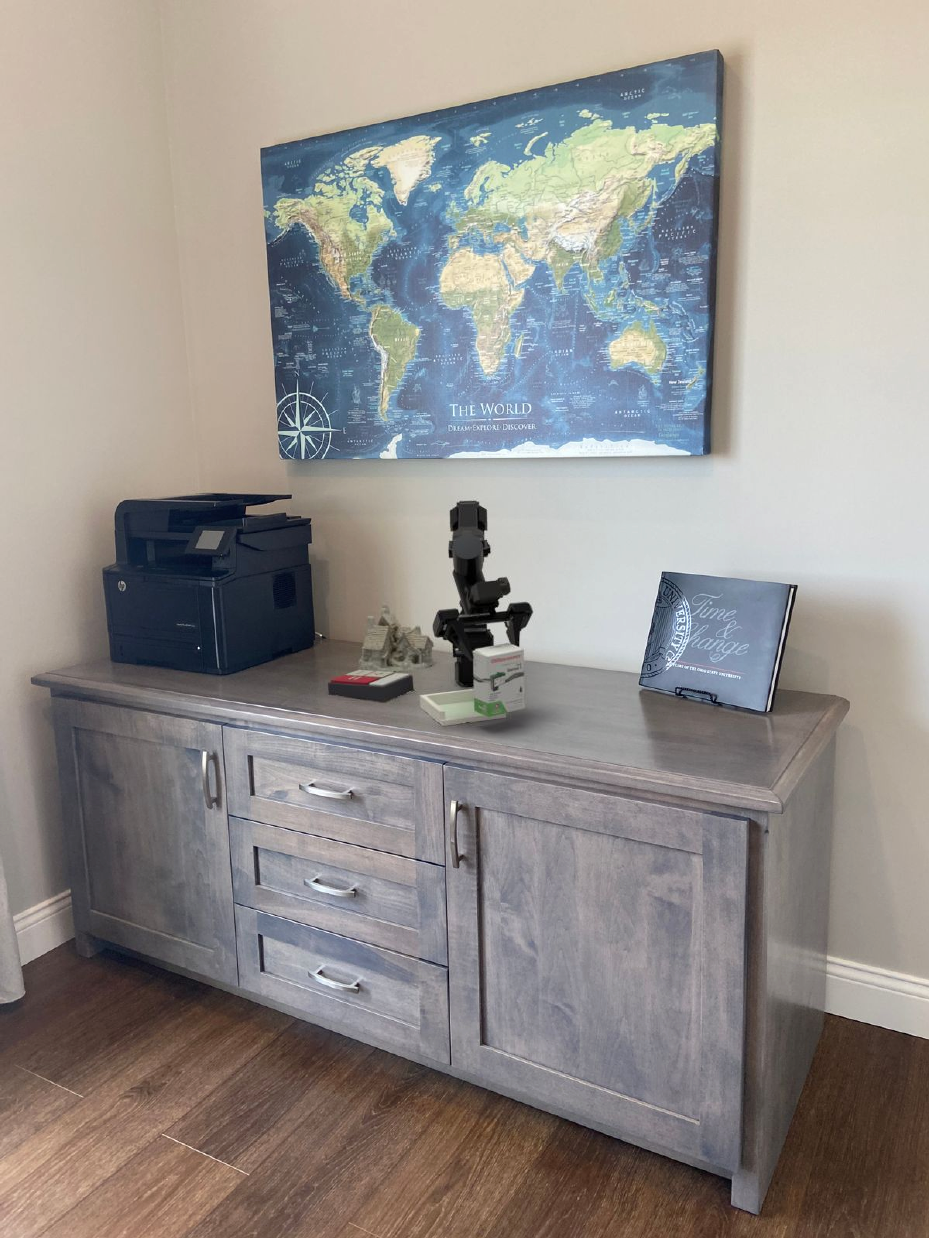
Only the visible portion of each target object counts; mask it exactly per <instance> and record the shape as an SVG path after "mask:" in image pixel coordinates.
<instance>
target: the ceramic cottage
mask: <svg viewBox="0 0 929 1238" xmlns="http://www.w3.org/2000/svg"><path fill="white" fill-rule="evenodd" d="M381 605H382V607H381V611H380V614H381V615H380V616H381V617H380V618H379V621H378V622H377V625H376V620H375V617H374V616H373V615H369V616H367V617H366V624H365V629H364V632H365V635H364V641H363V644H362V647H361V657H360V659H358V665H357V670H368V671H375V672H376V671H384V672H394V671H401V672H410V671H409V670H411V671H418V670H417V669H421V670H424V669H423V668H425V669H427V668H426V667H428V668H429V667H432V666H433V664H434V659H433V658H432V654H433V648H434V646H435V645H434V642H433V640H431V637H430V636H429V635H426V634H425V635H424V634H422V630H421V626H420V625H415V627H413V628H411V627H410V626H401V625H402V624H401V623H400V621H399V620H398V619H397V618H396V616H395V614H394V612H393V611H391V612H390V609H389V605H388V604H387V603H381ZM431 665H432V666H431ZM394 673H395V672H394Z"/></svg>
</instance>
